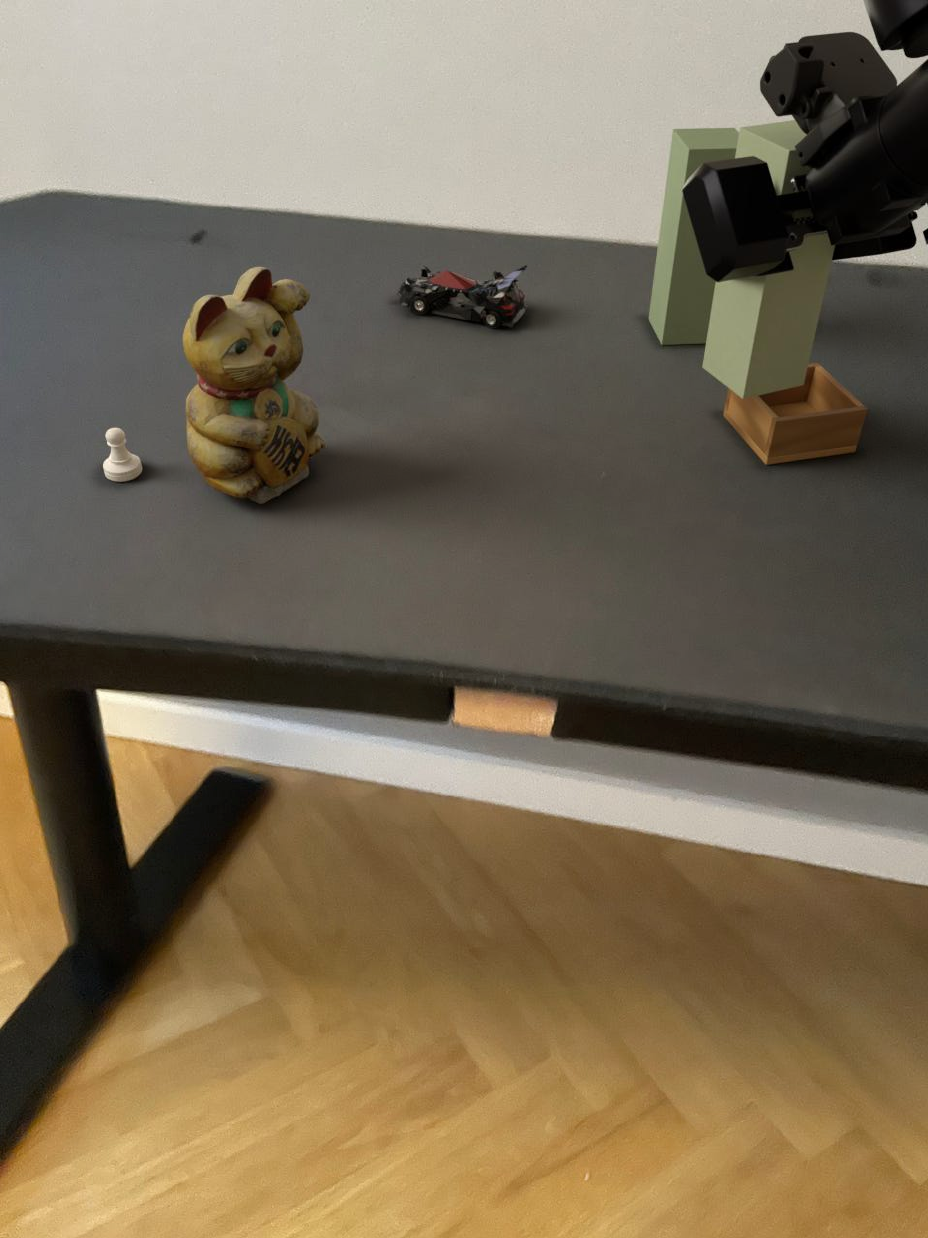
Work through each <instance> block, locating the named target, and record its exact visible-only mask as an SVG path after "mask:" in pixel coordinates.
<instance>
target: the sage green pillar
mask: <svg viewBox="0 0 928 1238" xmlns="http://www.w3.org/2000/svg"><path fill="white" fill-rule="evenodd" d="M738 132H739V136H738V142H737V149H736V155H735V158H742V157H749V156H755V157H757V158H759V159H761V160H763V161H765V162H767V164H768V167H769V171H770V174H771V178H772V181H773V184H774V188H775V191H776V195H783V194H789V193H794V192H793V190H792V186H791V179H792V178H793V177H795V176H798V175H804V174H808V173H810V172H809V169H808V166H801V165H800V162H799V159H798V156H797V152H796V149H795V145H797V144H798V143H799V142H800V141H801V140H802V139H803V138H804V137H805V136H806V134H805V133H804V132H803V131H802V130H801V128H800V127H799V125H798V124H797V122H796V121H795V119H792V120H783V121H777V122H769V123H763V124H756V125H749V126H748V125H747V126H741V127H739V130H738ZM834 248H835V245H832V246H831V243H830V240H829V236H828V233H826V234H820V235H814V236H808V237H804V241H803V244H802V246H800V247H799V248H798V249H797V250H794V251H790V252H789V253H790V256H791V260H792V263H793V267H794V270H792V271H787V272H781V273H776V274H770V275H765V276H759V277H753V276H751V277H745V278H740V279H734V280H729V281H723V282H716V283H715V290H714V296H713V302H712V309H711V315H710V322H709V328H708V334H707V341H706V343H705V347H704V354H703V355H704V356H703V361H702V369H703V370H705V371H706V372H707V373H709V374H710V375H711V376H712V377H714V378H715V379H716V380H717V381H719V382H720V383H721V384H723V385H724V386H725V387H726V388H727V389H728V388H729V389H731V390H732V391H733V392H734V393H736V394H737V395H738V396H740V397H741V398H742V399H746V398H750V397H754V396H759V395H763V394H767V393H772V392H776V391H780V390H785V389H789V388H793V387H798V386H802V385H804V381H805V377H806V372H807V368H808V364H810V359H811V355H812V350H813V345H814V341H815V336H816V333H817V327H818V324H819V320H820V319H819V318H820V314H821V310H822V306H823V301H824V296H825V292H826V288H827V283H828V279H829V275H830V270H831V266H832V262H833V261H832V257H833V253H834Z"/></svg>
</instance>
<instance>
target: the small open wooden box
mask: <svg viewBox="0 0 928 1238" xmlns="http://www.w3.org/2000/svg"><path fill="white" fill-rule="evenodd" d="M867 413H868V408H867V407H866V406H865V405H864V404H863V403H862V402H861V401H860V400H859V399H858V398H857V397H855V395H853V394H852V393H851V391H849V390H848V389H847V388H846V387H844V386H843V385H842V384H841V383H840V382H839V381H838V380H837V379H836V378H835V377H834V376H832V374H831V373H829V371H827V370H826V368H824V367H823V366H822V365H821V364H820V363H818V362H814V363H808V368H807V372H806V377H805V381H804V385H802V386H798V387H793V388H789V389H785V390H780V391H776V392H772V393H767V394H763V395H759V396H754V397H750V398H746V399H742V398H741V397H740V396H738V395H737V394H736V393H734V392H733V391H732V390H731V389H729V388H728V387H727V393H726V399H725V404H724V409H723V414H722V415H723V417H724V419H725V420H726V421H727V422H728V423H729V424H730V425H731V427H732V428H733V429H734V430H735V431H736V432H737V434H739V436H740V437H741V438H742V439H743V441H744V442H745V443H746V444H747V445H748V446H749V447H750V449H752V451H753V452H754V453H755V455H757V456H758V458H759V459H760V460H761V461H762V462H763V463H764V465H766V466H768V465H775V464H782V463H788V462H789V463H790V462H796V461H804V460H811V459H817V458H824V457H832V456H837V455H845V454H852V453H855V452H856V450H857V447H858V446H857V445H858V444H859V440H860V436H861V433H862V430H863V426H864V423H865V419H866V417H867Z"/></svg>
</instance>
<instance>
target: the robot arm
mask: <svg viewBox="0 0 928 1238" xmlns="http://www.w3.org/2000/svg"><path fill="white" fill-rule="evenodd" d="M863 4H864V6H865V9H866V12H867V16H868V19H869V21H870V25H871V28H872V31H873V34H874V36H875V40H876V43H877V45H878V47H879V49H880V52H884V51H899V50H900V51H901V50H902V51H903V53H904V56H905V57H906V58H907V59H921V58H924V57H927V56H928V0H863ZM759 91H760V93H761V95H762V96H763V98H764V100H766V103H767V104H768V105H769V107H770V109H771V110H772V111H773V113H774V115H775V116H776V117H778V118H780V117H786V116H792V118H793V120H795V121H796V122H797V124H798V125H799V127H800V128H801V130H802V131H803V132H804V133H805V134H806V136H805V137H804V138H803V139H802V140H801V141H800V142H799V143H798V144H797V145H795V149H796V152H797V156H798V159H799V162H800V165H801V166H808V169H809V172H810V173H808V174H804V175H798V176H795V177H793V178H792V179H791V186H792V190H793V192H794V193H789V194H783V195H776V191H775V188H774V184H773V181H772V178H771V174H770V171H769V167H768V164H767V162H765V161H763V160H761V159H759V158H757V157H755V156H749V157H742V158H735V159H728V160H721V161H714V162H707V163H703V164H702V165H701V166H700V167H699V168H698V169H697V170H696V171H695V172H694V173H693V174H692V175H691V176H690V177H689V179H688V180H687V181H686V183H685V185H684V187H683V189H682V192H683V196H684V199H685V203H686V206H687V210H688V213H689V216H690V220H691V223H692V227H693V230H694V234H695V237H696V240H697V244H698V247H699V251H700V254H701V258H702V261H703V265H704V268H705V271H706V275H708V276H709V277H710V278H712V279H713V280H715V281H716V282H723V281H729V280H734V279H740V278H745V277H751V276H753V277H759V276H765V275H770V274H776V273H781V272H787V271H792V270H794V267H793V263H792V260H791V256H790V253H789V252H790V251H794V250H797V249H798V248H799V247H800V246H802V244H803V241H804V237H808V236H814V235H820V234H826V233H828V236H829V240H830V243H831V246H832V245H835V248H834V253H833V257H832V262H833V261H841V260H847V259H848V260H849V259H857V258H864V257H872V256H879V255H880V256H881V255H885V254H891V253H897V252H901V251H907V250H911V249H913V248H914V247H915V246H916V244H917V241H918V240H917V239H918V238H917V235H916V232H915V228H914V224H913V222H914V221H915V220H917V219H918V217H919V215H918V213H917V212H916V211H919V210H921V208H923V207H925V206H928V58H927V59H926V60H925V61H924V62H922V64H920V65H919V66H918V67H917V68H916V69H915V70H913V71H912V72H911V73H910V74H909V75H908V76H907V77H905V78H904V79H903V80H902V81H901V82H899V84H898V79H897V77H896V75H895V74H894V73H893V71H892V70H891V69H890V67H889V66H888V64H887V63H886V62H885V60H884V59H883V57H882V56H881V55H880V53H879V52H878V50H877V49H876V48H875V47H874V45H873V44H872V42H871V41H870V39H868V38H867V37H865V36H864V35H862V34H861V33H858V32H855V31H843V32H834V33H832V32H831V33H824V34H823V33H822V34H814V35H805V36H802V37H801V38H799V40H798V41H796V42H787V43H785V44H784V46H783V48H782V49H781V50H780V51H779V52H777V53H776V54H775V55H772V56H771V57H769V59H768V62H767V64H766V67H765V68H764V71H763V73H762V74H761V77H760V80H759ZM926 204H927V205H926ZM922 234H923V238H924V241H925V245H928V227H927V228H926V229H924V230H923V231H922Z"/></svg>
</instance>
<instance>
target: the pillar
mask: <svg viewBox="0 0 928 1238" xmlns="http://www.w3.org/2000/svg"><path fill="white" fill-rule="evenodd" d="M738 136H739V130H737V129H736V127H707V128H706V127H701V128H673V129H672V134H671V141H670V150H669V158H668V165H667V174H666V181H665V187H664V197H663V204H662V212H661V220H660V227H659V234H658V243H657V249H656V250H657V251H656V257H655V265H654V273H653V279H652V289H651V295H650V305H649V312H648V321H649V323H650V326H651V327H652V329H653V331H654V333H655V335H656V337H657V339H658V341H659V343H660V345H661V346H670V345H671V346H673V345H674V346H675V345H697V344H698V345H700V344H701V345H702V344H703V345H704V344H706V341H707V334H708V328H709V322H710V315H711V309H712V302H713V296H714V290H715V283H716V281H715V280H713V279H712V278H710V277H709V276H708V275H706V271H705V268H704V265H703V261H702V258H701V254H700V251H699V247H698V244H697V240H696V237H695V234H694V230H693V227H692V223H691V220H690V216H689V213H688V210H687V206H686V203H685V199H684V196H683V192H682V189H683V187H684V185H685V183H686V181H687V180H688V179H689V177H690V176H691V175H692V174H693V173H694V172H695V171H696V170H697V169H698V168H699V167H700V166H701V165H702V164H703V163H707V162H714V161H721V160H728V159H735V155H736V149H737V142H738Z"/></svg>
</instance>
